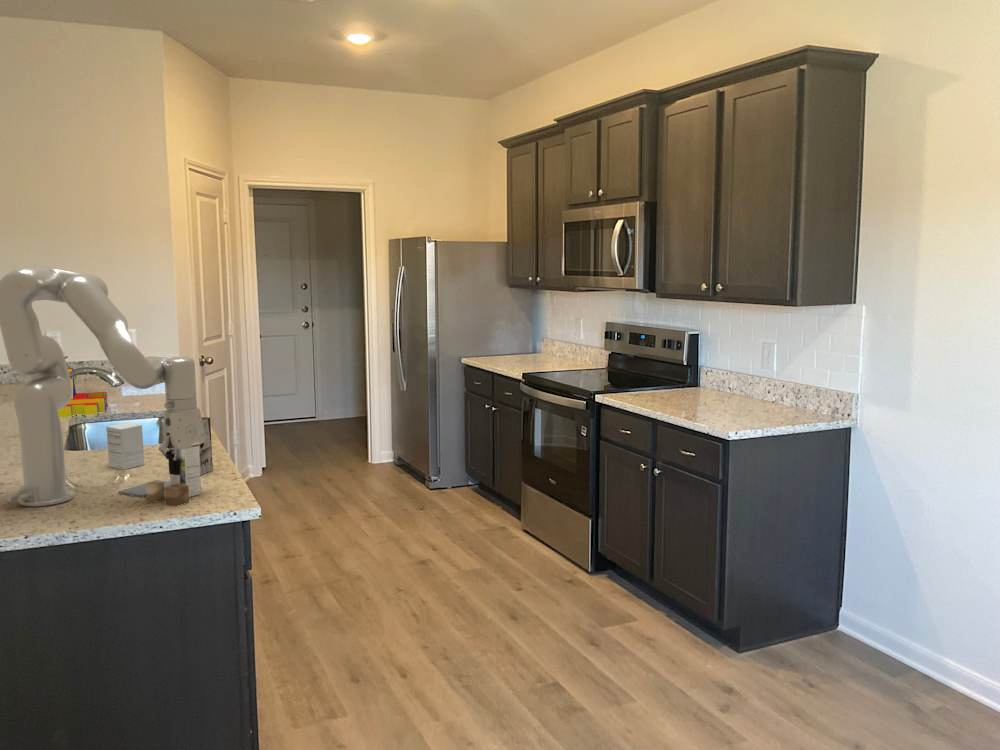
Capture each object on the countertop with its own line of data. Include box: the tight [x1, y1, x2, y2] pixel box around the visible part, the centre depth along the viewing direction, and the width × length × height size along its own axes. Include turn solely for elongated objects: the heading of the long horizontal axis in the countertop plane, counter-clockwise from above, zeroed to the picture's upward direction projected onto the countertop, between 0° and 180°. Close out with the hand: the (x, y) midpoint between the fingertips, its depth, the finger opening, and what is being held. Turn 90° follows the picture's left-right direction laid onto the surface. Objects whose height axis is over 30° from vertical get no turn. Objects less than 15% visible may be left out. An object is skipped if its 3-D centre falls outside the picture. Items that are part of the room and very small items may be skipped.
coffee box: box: [200, 416, 214, 476], centre depth 239 cm, size 9×6×16 cm
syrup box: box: [169, 442, 202, 498], centre depth 215 cm, size 6×6×14 cm
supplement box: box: [105, 422, 145, 470], centre depth 247 cm, size 7×7×13 cm
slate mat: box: [118, 479, 170, 498], centre depth 221 cm, size 13×9×1 cm
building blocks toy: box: [58, 367, 108, 417], centre depth 337 cm, size 19×25×18 cm
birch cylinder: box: [145, 480, 165, 503], centre depth 212 cm, size 4×4×4 cm
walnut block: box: [164, 484, 190, 507], centre depth 208 cm, size 4×4×4 cm
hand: (184, 470), depth 215 cm, fingers closed on syrup box, 6 cm apart
